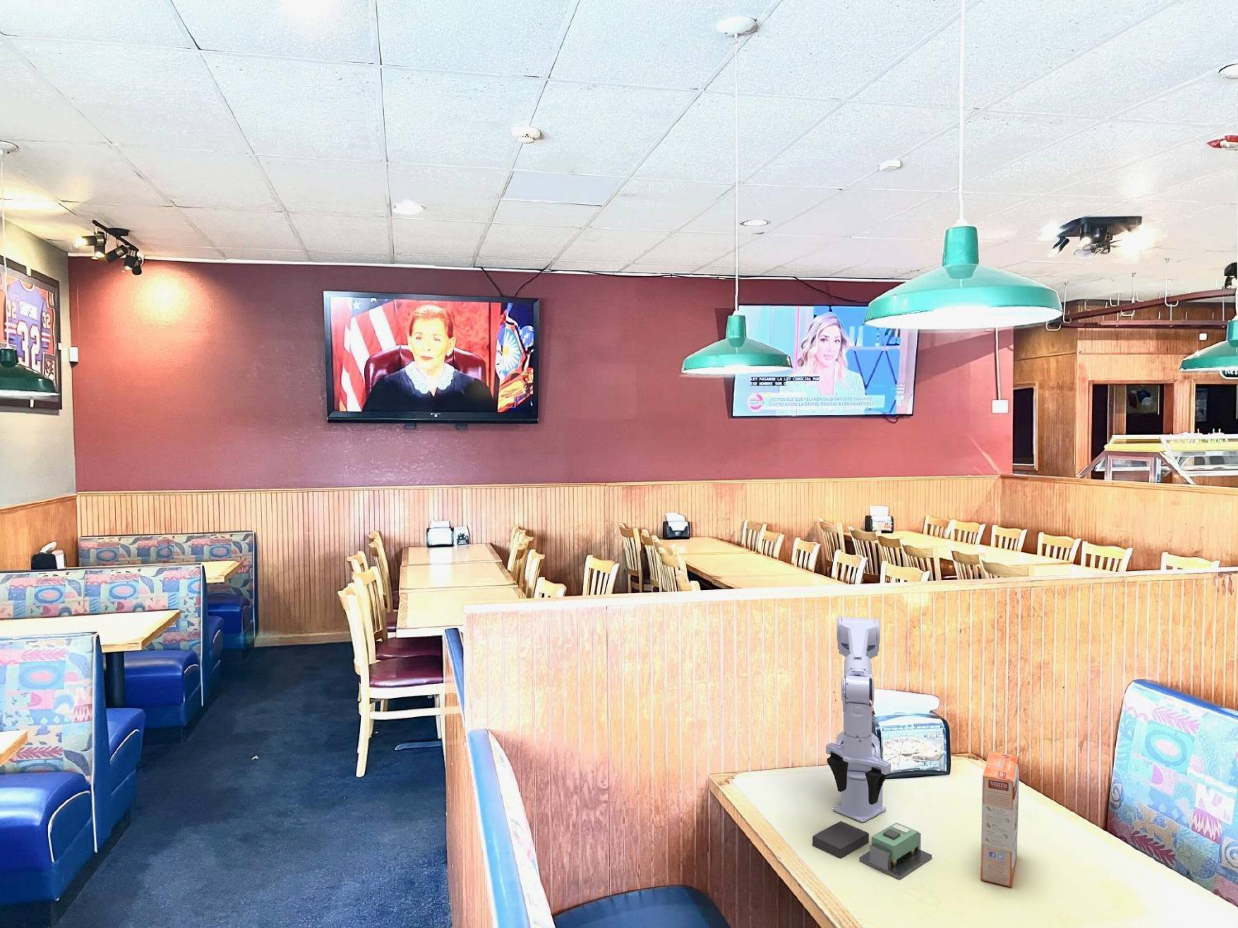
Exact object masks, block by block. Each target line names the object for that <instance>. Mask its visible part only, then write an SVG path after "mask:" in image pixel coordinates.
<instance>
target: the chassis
mask: <svg viewBox="0 0 1238 928" xmlns="http://www.w3.org/2000/svg"><path fill="white" fill-rule="evenodd" d="M921 834H922V833H921V832H919V831H918V846H917V847H916V848H914V849H913V850H911V851H909V852H908V853H906V854H905V855H903V856H901V857H900V858H898V859H897V860H895V861H892V860H891V851H889V850H887V849H884V848H882V847H880V846H878V845H875V844H870V845H869V851H867V852H866V853H863V854H862V855H860V856H859V858H858V861H859V862H860V863H863V864H864V865H865V866H869V867H871V868H873V869H875V870H877V871H879V872H881V873H884V874H885V875H888V876H890V877H892V878H894V879H896V880H898V881H900V880H902V879H903V878H905V877H906V876H908V875H909V874H911V873H912V872H914V871H915V870H917V869H918V868H920V867H922V866H923V865H925V864H926V863H928V862H929V861H931V860H932V859H933V854H931V853H929V852H927V851H924V850H921V849H922V846H921V845H922V843H921V842H922V841H921V838H922V837H921V836H922V835H921Z"/></svg>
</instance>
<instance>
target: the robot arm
mask: <svg viewBox="0 0 1238 928" xmlns="http://www.w3.org/2000/svg"><path fill="white" fill-rule="evenodd" d="M880 629H881V623H880V620H879V619H878V618H875V619H874V618H861V617H845V616H844V617H842V616H838V617H837V619H836V641H837V649H838V653H839V654H840V655H841V656H843V657H845V659H844V663H843V664H844V668H843V677H841V681H840V682H841V687H840V688H841V690H840V693H841V695H840V696H841V697H840V698H841V702H842V704H841V705H842V712H843V713H842V715H843V716H842V719H843V721H842V722H843V726H842V727H843V730H842V731H840V733H838V734H837V736H836V743H834V742H830V743H829V742H828V743H827V744H826V745H825V754H827V755H829V757H827V758H826V763H827V764H828V766H829V768H830V770H831V772H832V774H833V777H834V780H835V784H836V785H835V786H836V789H837V792H838V793H841V798H840V799H841V803H840V804H838V805H837V806H834V807H833V809H832V810H833V811H835V812H837V813H839V814H841V815H843V816H845V817H848V818H851V819H853V820H855V821H858V822H860V823H865V822H866V821H869V820H870V819H873V818H874V817H875V816H878V815H880V814H882V813H884V812H886V810H887V807H885V806H883V799H884V798H883V794H884V793H883V789H884V788H883V787H884V786H883V784H884V783H885V781H886V779H887V777H888V776H889V774H890V773H891V772H892V769H891V767H892V762H889V761H887V760H885V759H883V758H881V747H880V746H881V745H880V744H881V743H880V740H879V737H877V736H876V735H875V734H874V733H873V732H872V731H873V730H872V729H873V728H872V727H873V723H872V721H873V717H872V716H873V715H872V714H873V711H872V710H873V705H874V703H875V681H874V677H873V674H872V671H873V670H872V662H871V660H872V659H874V658H877V657H878V654H879V652H880V643H881V630H880Z"/></svg>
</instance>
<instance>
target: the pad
mask: <svg viewBox="0 0 1238 928" xmlns="http://www.w3.org/2000/svg"><path fill="white" fill-rule="evenodd" d="M811 839H812V843H811V844H812V847H813V846H814V847H815V848H818V849H820V850H821V851H823V852H826V853H828V854H830V855H832V856H834V857H836V858H839V859H842V858H844V857H846V856H848V855H849V854H851V853H853V852H855V851H857V850H858V849H860V848H862V847H864V846H865V845H867V844H869V843H870V832H868V831H865V830H863V829H861V828H859V827H856V826H854V825H852V824H849V823H847V822H844V821H842V820H840V821H839V822H836V823H834V824H832V825H830V826H828V827H827V828H825V829H823V830H820V831H819V832H817V833H815V834H813V835H812V838H811Z"/></svg>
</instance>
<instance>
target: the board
mask: <svg viewBox="0 0 1238 928" xmlns="http://www.w3.org/2000/svg"><path fill="white" fill-rule="evenodd" d="M918 832H919V831H918V830H916V829H913V828H911V827H909V826H907V825H903V824H901V823H898V822H894V823H893V824H891V825H889V826H887V827H886V828H884V829H882V830H881V831H879V832H877V833H875V834H874V835H872V836H871V840H870V841H871V844H875V845H878V846H880V847H882V848H884V849H887V850H889V851H891V860H892V861H895V860H897V859H898V858H900V857H901V856H903V855H905V854H906V853H908V852H909V851H911V850H913V849H914V848H916V847H917V846H918ZM871 844H870V845H871Z"/></svg>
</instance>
